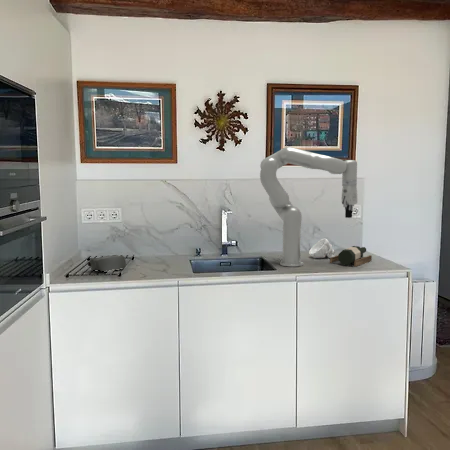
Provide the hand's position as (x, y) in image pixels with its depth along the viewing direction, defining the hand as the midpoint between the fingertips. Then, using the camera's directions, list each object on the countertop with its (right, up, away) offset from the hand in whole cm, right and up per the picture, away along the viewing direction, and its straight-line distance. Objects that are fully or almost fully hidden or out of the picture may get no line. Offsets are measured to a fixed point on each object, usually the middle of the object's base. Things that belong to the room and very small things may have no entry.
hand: (348, 217), depth 239 cm
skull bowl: (-10, -23, +20) cm, 32 cm away
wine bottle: (-3, -21, -5) cm, 22 cm away
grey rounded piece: (-128, -28, -8) cm, 132 cm away
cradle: (+3, -25, +6) cm, 25 cm away
